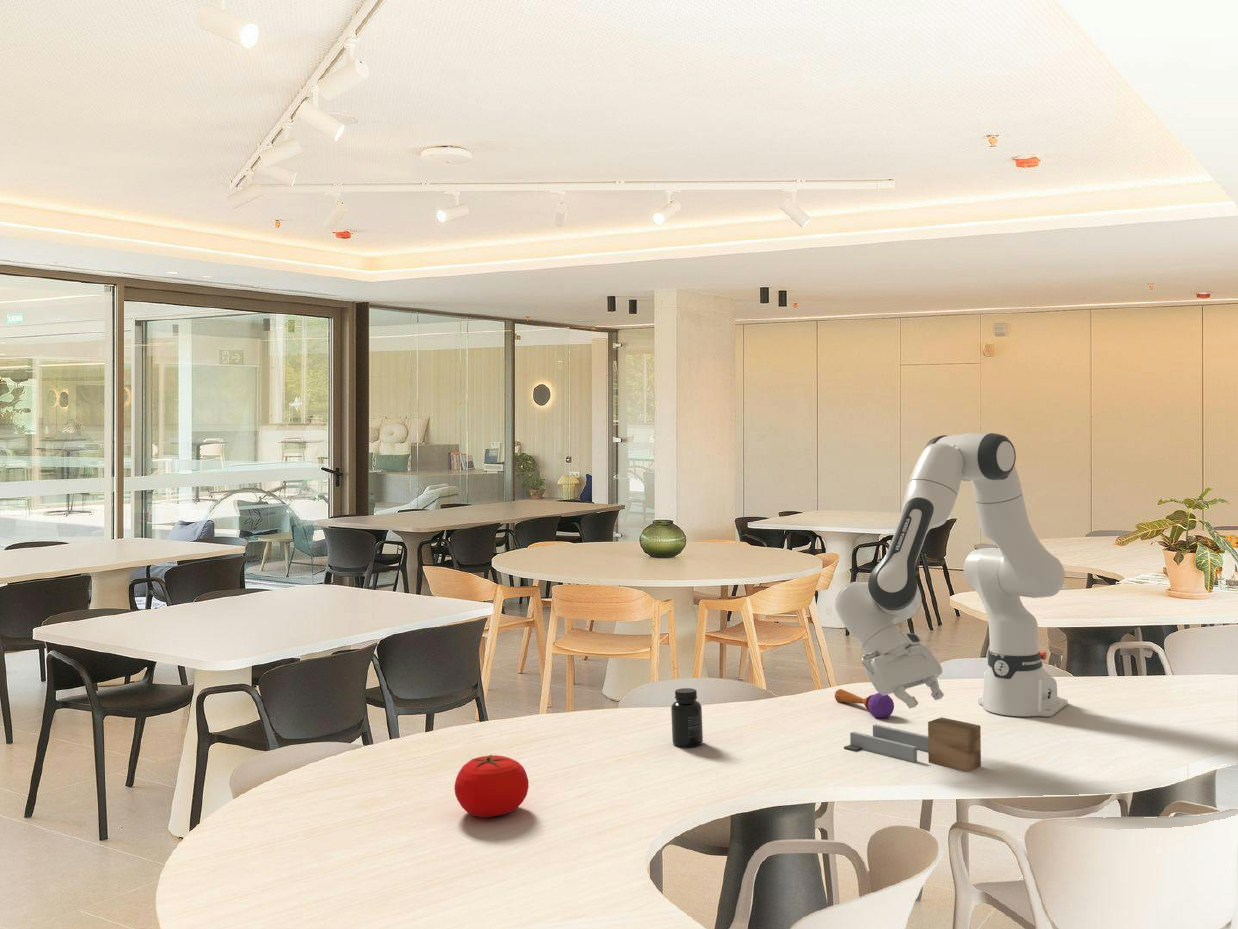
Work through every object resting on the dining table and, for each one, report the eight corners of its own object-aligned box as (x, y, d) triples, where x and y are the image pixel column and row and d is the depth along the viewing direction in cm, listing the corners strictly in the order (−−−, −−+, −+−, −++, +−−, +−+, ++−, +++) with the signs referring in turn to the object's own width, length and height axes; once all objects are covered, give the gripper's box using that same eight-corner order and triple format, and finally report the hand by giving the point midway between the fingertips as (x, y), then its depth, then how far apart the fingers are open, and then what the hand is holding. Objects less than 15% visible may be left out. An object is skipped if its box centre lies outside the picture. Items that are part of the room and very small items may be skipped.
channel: (882, 735, 244) (882, 722, 244) (944, 750, 232) (944, 736, 232) (844, 748, 235) (843, 735, 235) (907, 764, 223) (907, 750, 223)
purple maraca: (851, 684, 276) (900, 695, 258) (848, 708, 276) (897, 721, 257) (831, 683, 274) (879, 693, 256) (829, 706, 274) (877, 719, 255)
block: (941, 757, 227) (941, 717, 227) (980, 767, 221) (980, 725, 220) (928, 762, 224) (928, 722, 224) (967, 772, 217) (967, 730, 217)
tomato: (495, 795, 210) (494, 742, 210) (543, 808, 202) (542, 753, 202) (439, 817, 199) (437, 761, 199) (488, 832, 191) (486, 773, 191)
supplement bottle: (703, 739, 244) (702, 686, 244) (702, 748, 238) (701, 694, 237) (672, 739, 245) (671, 686, 245) (671, 748, 238) (670, 694, 238)
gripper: (866, 647, 225) (907, 702, 218) (922, 633, 239) (963, 685, 231) (849, 665, 229) (889, 720, 222) (905, 651, 242) (944, 702, 235)
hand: (927, 702), depth 227 cm, fingers open, 8 cm apart
